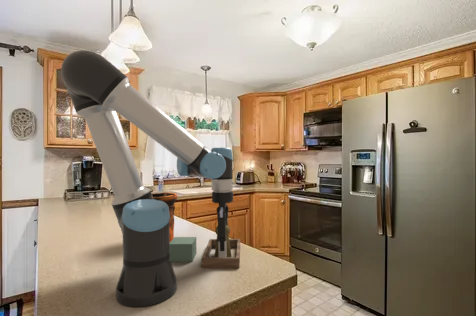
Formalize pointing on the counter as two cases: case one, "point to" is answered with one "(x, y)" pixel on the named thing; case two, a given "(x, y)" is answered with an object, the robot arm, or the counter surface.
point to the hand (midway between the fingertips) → (223, 255)
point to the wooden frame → (221, 261)
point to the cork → (226, 242)
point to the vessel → (169, 200)
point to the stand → (182, 249)
